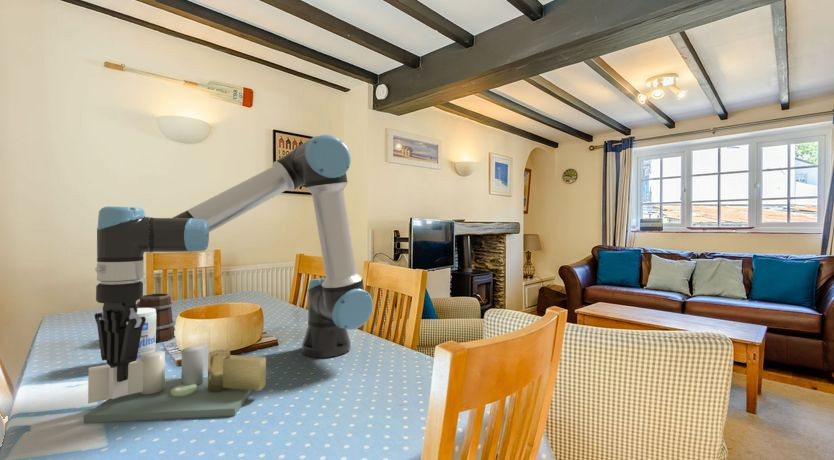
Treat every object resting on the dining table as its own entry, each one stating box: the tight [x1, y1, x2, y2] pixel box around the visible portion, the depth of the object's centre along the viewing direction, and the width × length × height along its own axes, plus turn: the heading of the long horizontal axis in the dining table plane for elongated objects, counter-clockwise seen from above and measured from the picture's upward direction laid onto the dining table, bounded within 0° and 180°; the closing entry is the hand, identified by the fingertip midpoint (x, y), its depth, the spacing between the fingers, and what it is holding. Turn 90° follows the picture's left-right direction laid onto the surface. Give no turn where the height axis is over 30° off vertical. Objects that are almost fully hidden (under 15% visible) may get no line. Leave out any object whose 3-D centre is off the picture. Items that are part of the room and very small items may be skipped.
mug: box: [136, 293, 176, 344], centre depth 125 cm, size 16×12×15 cm
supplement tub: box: [137, 308, 157, 359], centre depth 103 cm, size 10×10×15 cm
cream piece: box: [87, 350, 166, 404], centre depth 79 cm, size 4×13×8 cm, turn 131°
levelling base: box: [83, 344, 254, 424], centre depth 83 cm, size 28×19×10 cm
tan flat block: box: [207, 349, 267, 392], centre depth 83 cm, size 4×13×8 cm, turn 83°
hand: (118, 395), depth 75 cm, fingers closed
